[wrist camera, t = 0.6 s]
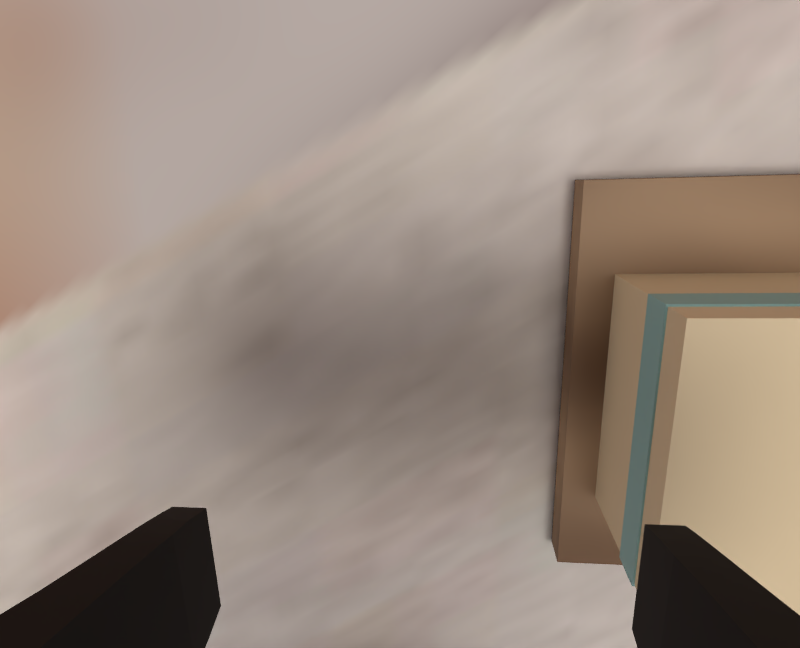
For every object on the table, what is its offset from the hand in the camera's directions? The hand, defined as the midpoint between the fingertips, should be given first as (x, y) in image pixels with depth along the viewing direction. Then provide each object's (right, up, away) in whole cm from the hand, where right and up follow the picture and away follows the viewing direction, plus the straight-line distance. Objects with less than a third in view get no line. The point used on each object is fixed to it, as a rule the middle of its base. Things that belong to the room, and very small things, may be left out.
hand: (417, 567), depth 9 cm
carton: (+9, +2, +6) cm, 11 cm away
